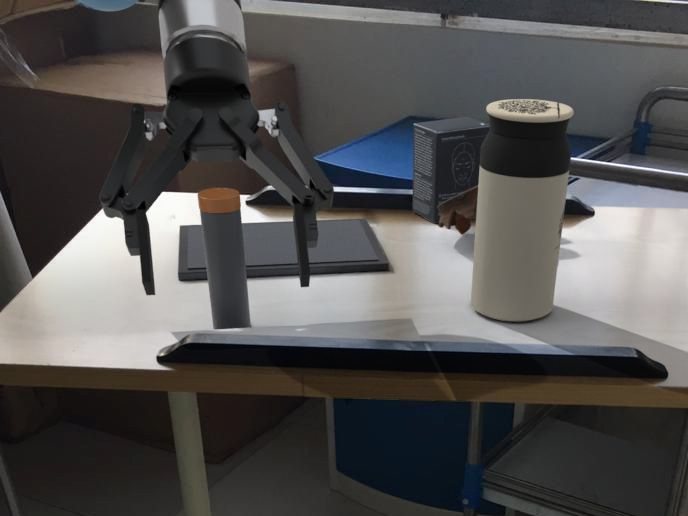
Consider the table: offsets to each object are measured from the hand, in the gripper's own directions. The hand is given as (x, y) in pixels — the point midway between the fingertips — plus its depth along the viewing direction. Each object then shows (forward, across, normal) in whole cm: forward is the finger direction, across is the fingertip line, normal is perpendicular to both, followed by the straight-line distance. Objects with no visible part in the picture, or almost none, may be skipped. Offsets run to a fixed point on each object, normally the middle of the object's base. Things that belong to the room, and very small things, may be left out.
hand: (228, 284), depth 77 cm
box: (-20, -28, -28) cm, 44 cm away
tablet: (-13, -6, -20) cm, 25 cm away
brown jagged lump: (-12, -30, -19) cm, 38 cm away
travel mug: (+1, -27, -6) cm, 28 cm away
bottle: (+2, 0, -5) cm, 5 cm away
